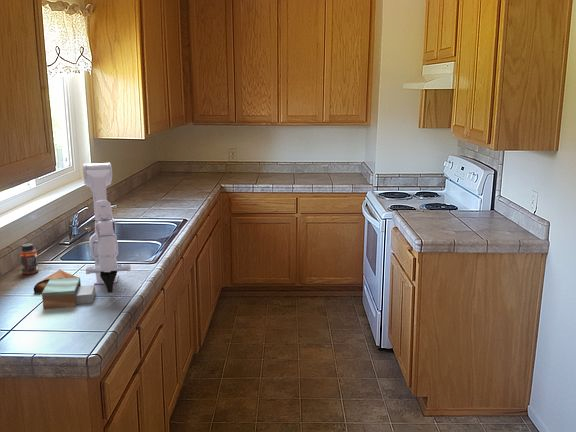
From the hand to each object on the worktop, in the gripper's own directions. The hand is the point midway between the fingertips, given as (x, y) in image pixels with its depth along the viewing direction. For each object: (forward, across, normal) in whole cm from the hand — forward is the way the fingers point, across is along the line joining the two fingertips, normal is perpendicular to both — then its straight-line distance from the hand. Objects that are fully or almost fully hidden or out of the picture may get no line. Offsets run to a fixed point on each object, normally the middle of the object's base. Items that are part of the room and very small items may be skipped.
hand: (110, 291), depth 192 cm
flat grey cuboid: (+2, -13, 0) cm, 13 cm away
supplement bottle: (+2, -33, +33) cm, 47 cm away
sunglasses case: (+2, -20, +16) cm, 26 cm away
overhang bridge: (+2, -16, 0) cm, 16 cm away
